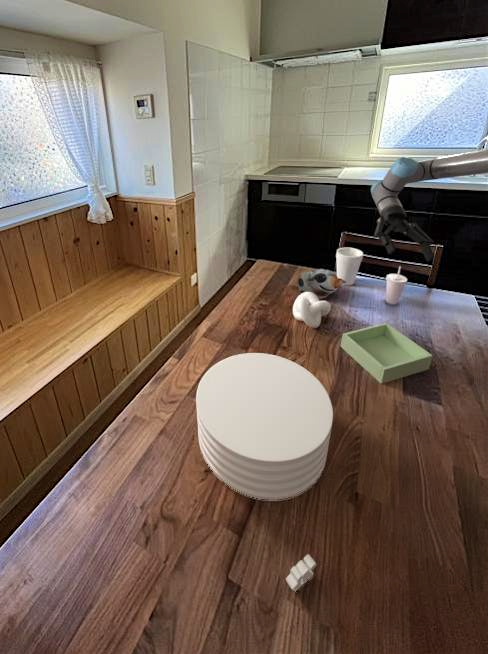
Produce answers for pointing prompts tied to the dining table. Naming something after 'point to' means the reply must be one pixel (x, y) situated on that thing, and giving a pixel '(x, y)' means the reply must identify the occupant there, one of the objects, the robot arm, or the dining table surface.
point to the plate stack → (263, 425)
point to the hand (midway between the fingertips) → (411, 255)
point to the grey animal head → (319, 282)
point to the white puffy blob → (310, 309)
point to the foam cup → (348, 263)
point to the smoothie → (394, 287)
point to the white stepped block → (301, 573)
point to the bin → (385, 352)
